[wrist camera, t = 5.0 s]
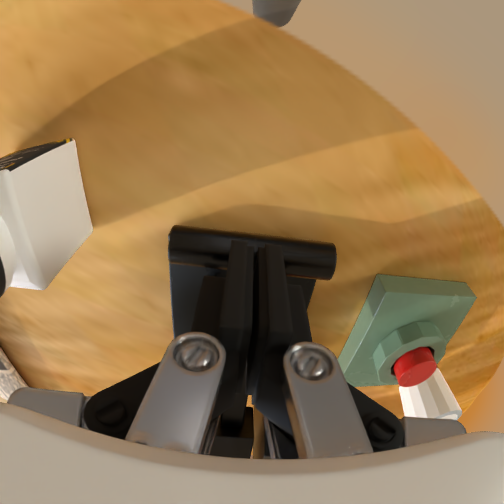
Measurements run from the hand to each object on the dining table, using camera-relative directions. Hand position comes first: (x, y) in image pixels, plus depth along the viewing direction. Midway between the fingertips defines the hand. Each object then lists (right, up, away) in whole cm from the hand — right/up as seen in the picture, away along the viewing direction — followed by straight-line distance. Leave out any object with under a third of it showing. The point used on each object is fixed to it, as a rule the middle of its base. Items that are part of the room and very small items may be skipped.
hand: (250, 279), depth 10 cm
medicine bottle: (-15, +5, +8) cm, 18 cm away
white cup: (+21, -15, +20) cm, 32 cm away
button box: (+14, -6, +14) cm, 21 cm away
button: (+14, -8, +11) cm, 19 cm away
